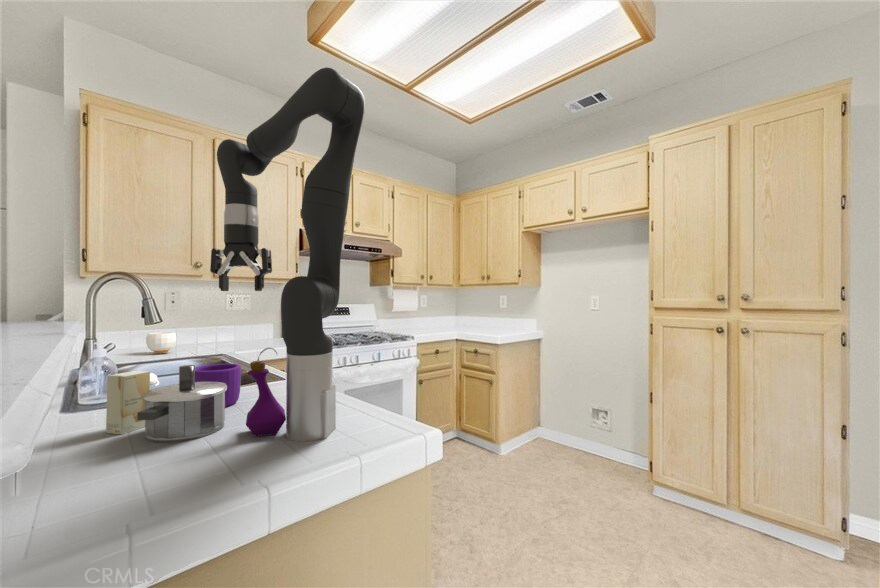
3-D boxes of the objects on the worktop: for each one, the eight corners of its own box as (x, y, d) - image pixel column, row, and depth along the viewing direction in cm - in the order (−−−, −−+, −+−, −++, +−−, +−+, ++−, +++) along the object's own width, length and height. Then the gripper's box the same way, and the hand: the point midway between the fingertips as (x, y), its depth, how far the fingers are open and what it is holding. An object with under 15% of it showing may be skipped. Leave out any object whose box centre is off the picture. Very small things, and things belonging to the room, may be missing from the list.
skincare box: (121, 435, 78) (121, 376, 78) (104, 434, 79) (105, 375, 79) (151, 425, 85) (151, 370, 85) (135, 423, 86) (135, 369, 86)
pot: (246, 414, 92) (246, 381, 92) (181, 451, 70) (181, 408, 70) (190, 413, 93) (190, 381, 93) (109, 450, 71) (109, 407, 71)
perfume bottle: (245, 440, 76) (245, 350, 76) (247, 428, 82) (247, 346, 82) (286, 435, 79) (286, 348, 79) (284, 424, 86) (284, 344, 86)
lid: (240, 389, 89) (240, 360, 89) (200, 408, 74) (200, 373, 74) (175, 389, 89) (175, 360, 89) (123, 408, 74) (123, 373, 74)
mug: (246, 404, 101) (246, 367, 101) (196, 414, 93) (197, 373, 93) (227, 392, 113) (227, 359, 113) (182, 399, 105) (182, 363, 105)
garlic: (161, 385, 122) (161, 373, 122) (134, 389, 117) (134, 377, 117) (155, 381, 128) (155, 370, 128) (130, 385, 123) (130, 373, 123)
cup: (139, 353, 187) (139, 333, 187) (161, 349, 199) (161, 331, 199) (161, 354, 185) (161, 334, 185) (182, 350, 197) (182, 331, 197)
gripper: (277, 227, 97) (277, 291, 97) (222, 228, 97) (222, 291, 97) (261, 222, 89) (261, 290, 89) (203, 222, 90) (203, 290, 90)
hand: (241, 291), depth 93 cm, fingers open, 8 cm apart
